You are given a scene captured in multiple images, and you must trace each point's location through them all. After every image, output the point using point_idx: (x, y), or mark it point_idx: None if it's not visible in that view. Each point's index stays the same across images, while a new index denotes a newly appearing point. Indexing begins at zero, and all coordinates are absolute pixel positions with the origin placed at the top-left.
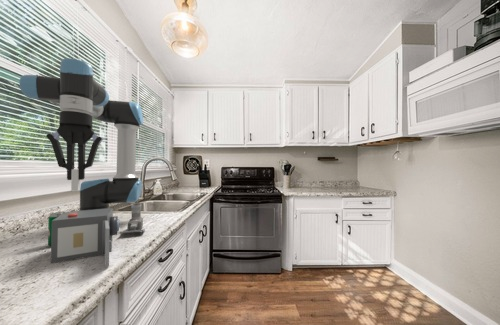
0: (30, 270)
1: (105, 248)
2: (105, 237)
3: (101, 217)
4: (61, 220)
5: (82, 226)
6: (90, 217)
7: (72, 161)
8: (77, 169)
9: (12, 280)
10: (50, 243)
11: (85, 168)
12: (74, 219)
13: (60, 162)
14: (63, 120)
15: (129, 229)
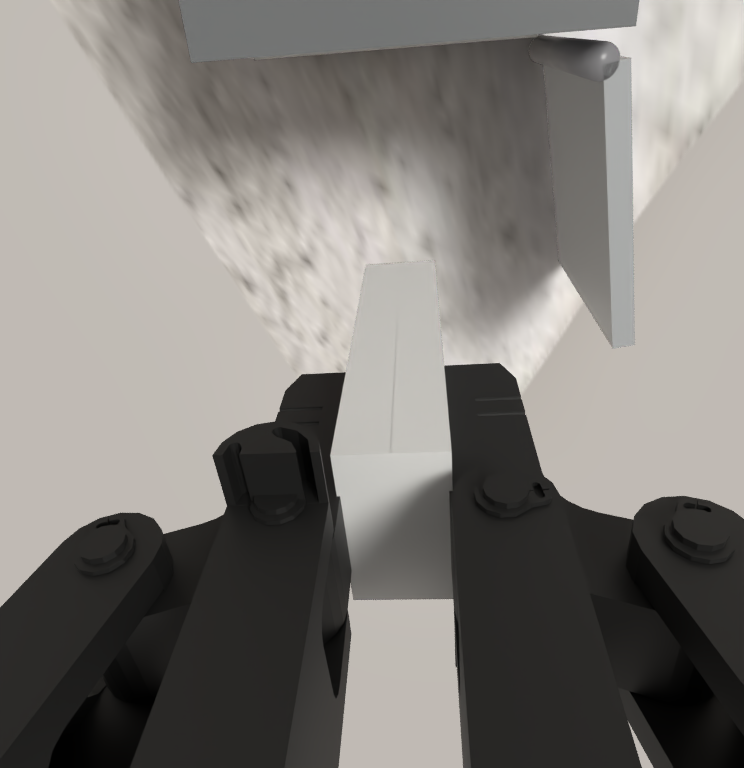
0: (218, 113)
1: (580, 295)
2: (592, 285)
3: (579, 30)
4: (260, 56)
5: (420, 45)
6: (485, 38)
7: (330, 740)
8: (446, 597)
9: (207, 204)
10: None
11: (566, 502)
12: (356, 47)
13: (131, 733)
14: None
15: None
